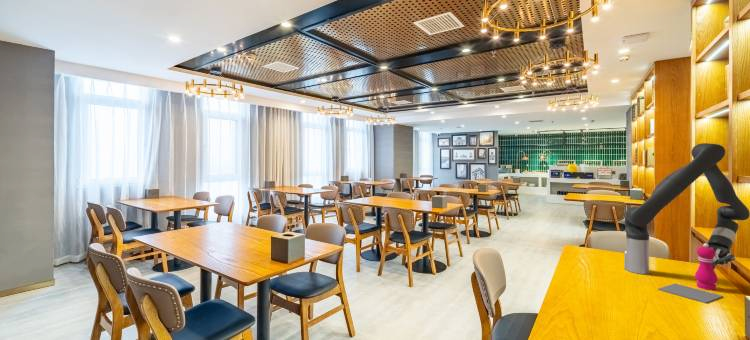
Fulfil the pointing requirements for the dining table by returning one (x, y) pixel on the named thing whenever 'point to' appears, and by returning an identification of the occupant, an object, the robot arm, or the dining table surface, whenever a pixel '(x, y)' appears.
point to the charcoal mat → (690, 293)
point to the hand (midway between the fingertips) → (709, 269)
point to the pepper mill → (706, 268)
